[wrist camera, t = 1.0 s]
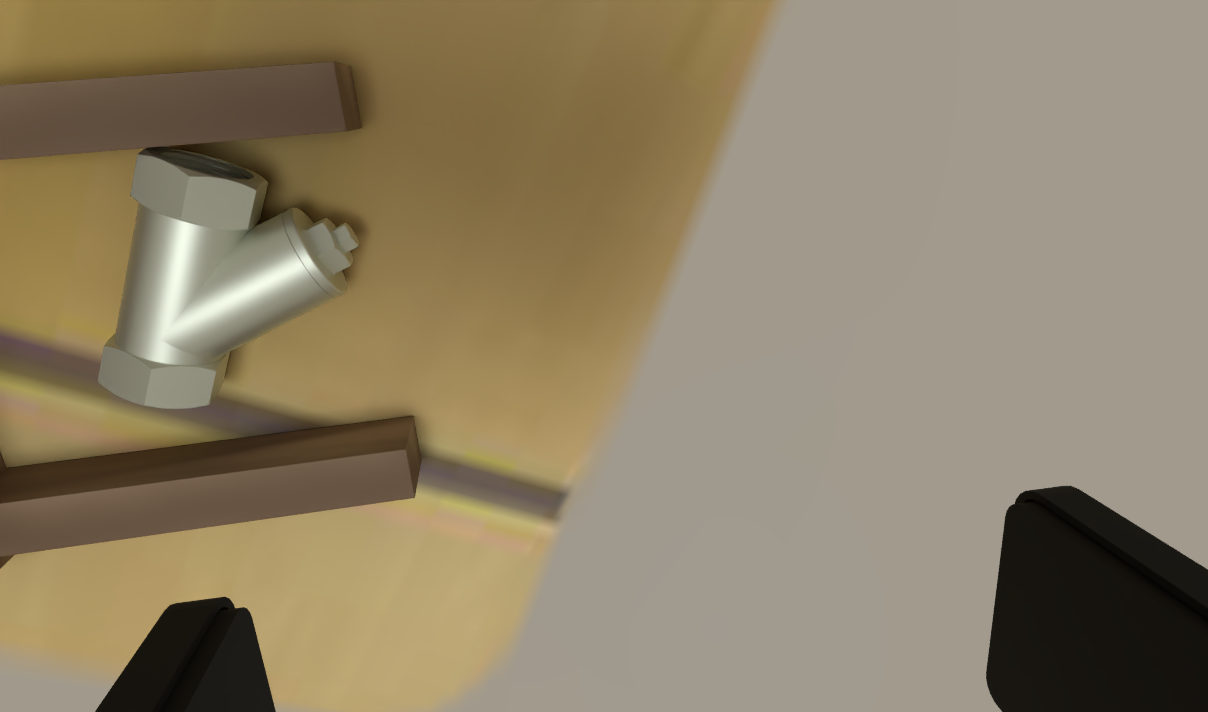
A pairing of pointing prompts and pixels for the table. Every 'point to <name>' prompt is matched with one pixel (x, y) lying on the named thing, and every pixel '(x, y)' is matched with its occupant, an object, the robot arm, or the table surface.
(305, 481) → the bench jig
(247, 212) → the pipe fitting
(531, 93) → the table surface
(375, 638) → the table surface
